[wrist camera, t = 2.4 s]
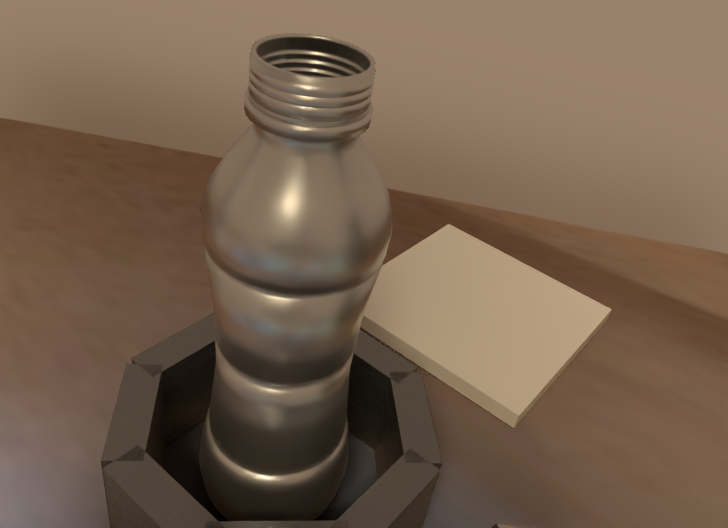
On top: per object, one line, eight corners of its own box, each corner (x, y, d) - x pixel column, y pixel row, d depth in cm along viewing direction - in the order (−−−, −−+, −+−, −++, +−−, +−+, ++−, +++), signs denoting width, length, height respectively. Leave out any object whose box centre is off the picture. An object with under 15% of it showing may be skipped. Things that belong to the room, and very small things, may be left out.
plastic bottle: (182, 547, 27) (167, 81, 16) (215, 420, 33) (222, 5, 21) (337, 562, 28) (433, 119, 16) (344, 434, 33) (420, 35, 22)
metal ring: (58, 484, 29) (42, 407, 26) (274, 346, 38) (280, 276, 35) (268, 713, 23) (277, 646, 20) (464, 485, 32) (490, 416, 29)
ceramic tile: (332, 308, 41) (333, 296, 40) (446, 235, 50) (448, 224, 49) (513, 428, 35) (519, 415, 35) (606, 320, 44) (611, 309, 43)
